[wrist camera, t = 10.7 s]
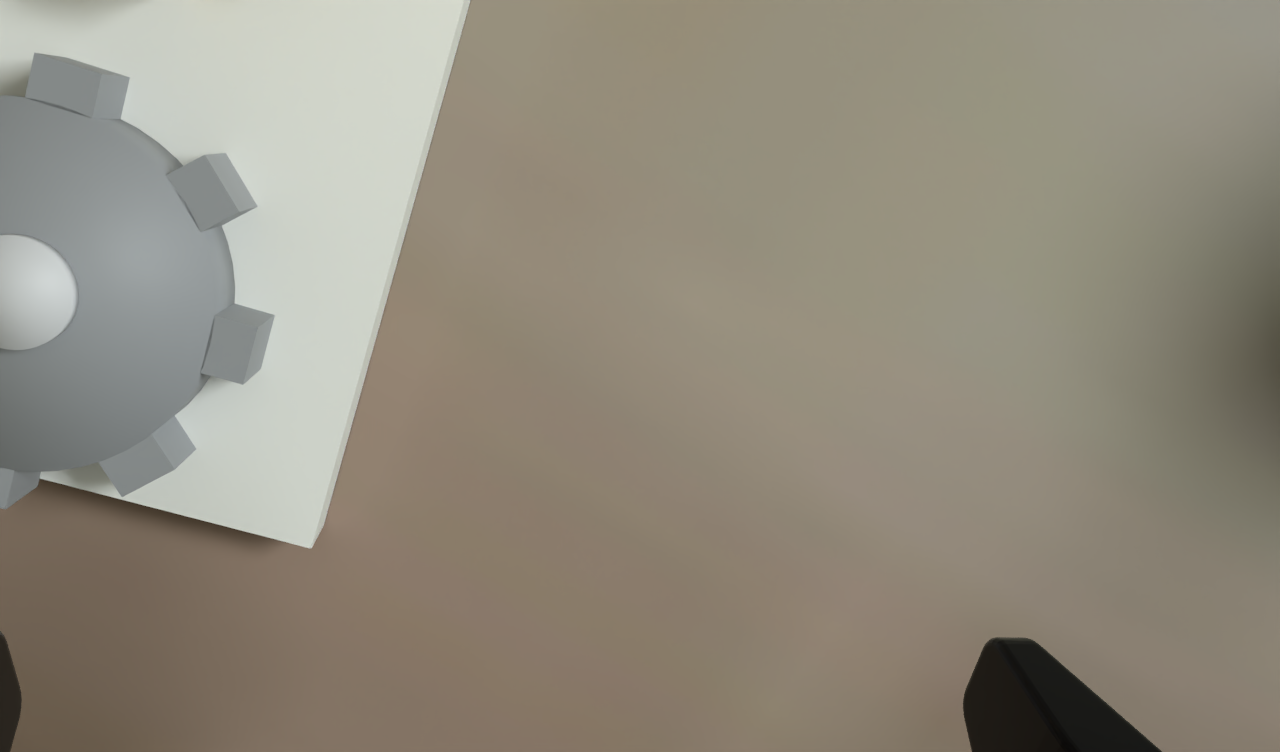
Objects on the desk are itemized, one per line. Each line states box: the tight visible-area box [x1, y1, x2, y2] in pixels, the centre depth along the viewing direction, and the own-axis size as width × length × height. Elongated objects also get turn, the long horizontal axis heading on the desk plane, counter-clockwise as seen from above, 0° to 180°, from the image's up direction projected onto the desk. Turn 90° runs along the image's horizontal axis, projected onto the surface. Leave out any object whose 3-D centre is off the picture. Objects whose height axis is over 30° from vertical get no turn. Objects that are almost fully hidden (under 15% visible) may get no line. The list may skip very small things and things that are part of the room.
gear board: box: [0, 0, 470, 548], centre depth 17 cm, size 17×9×4 cm, turn 162°
